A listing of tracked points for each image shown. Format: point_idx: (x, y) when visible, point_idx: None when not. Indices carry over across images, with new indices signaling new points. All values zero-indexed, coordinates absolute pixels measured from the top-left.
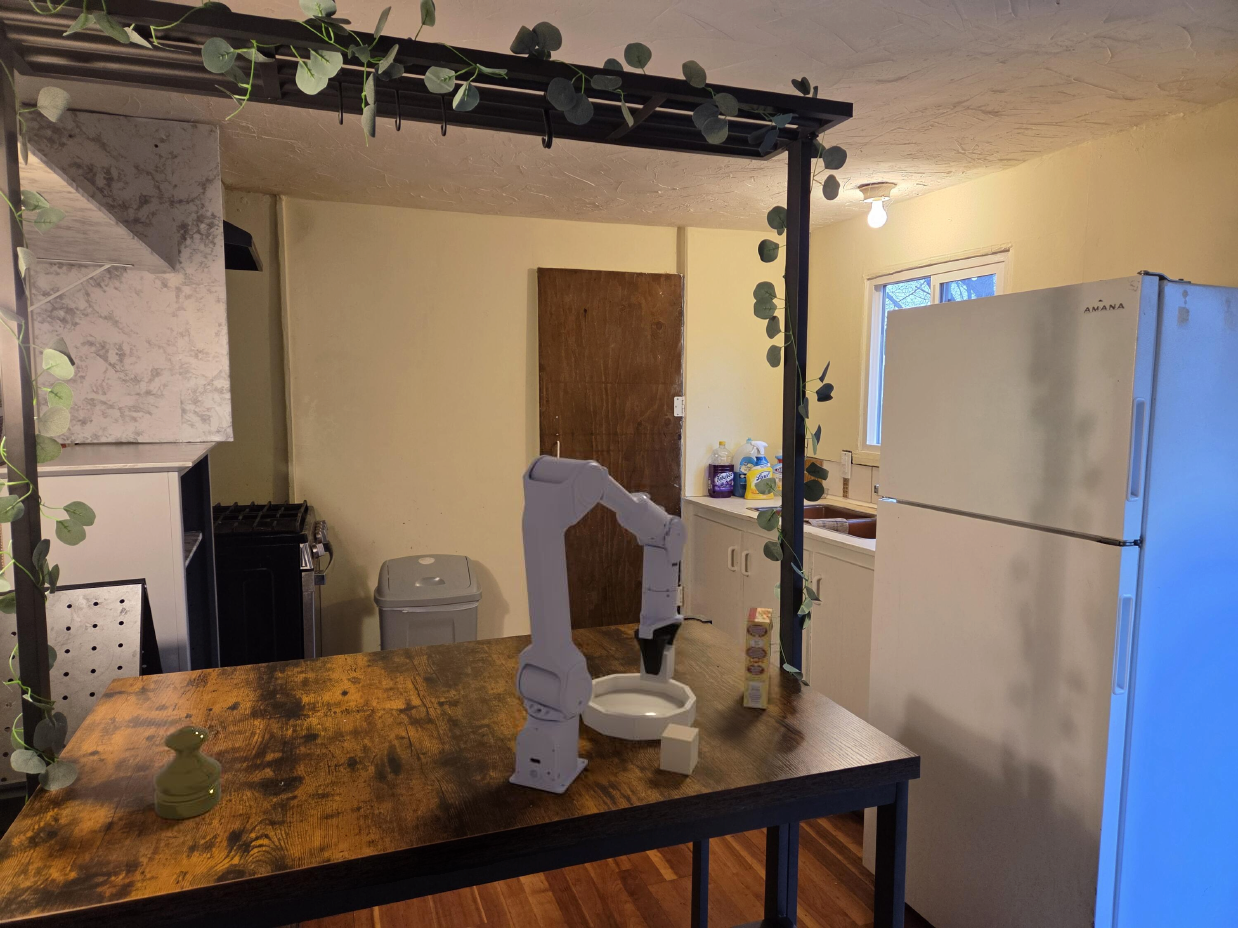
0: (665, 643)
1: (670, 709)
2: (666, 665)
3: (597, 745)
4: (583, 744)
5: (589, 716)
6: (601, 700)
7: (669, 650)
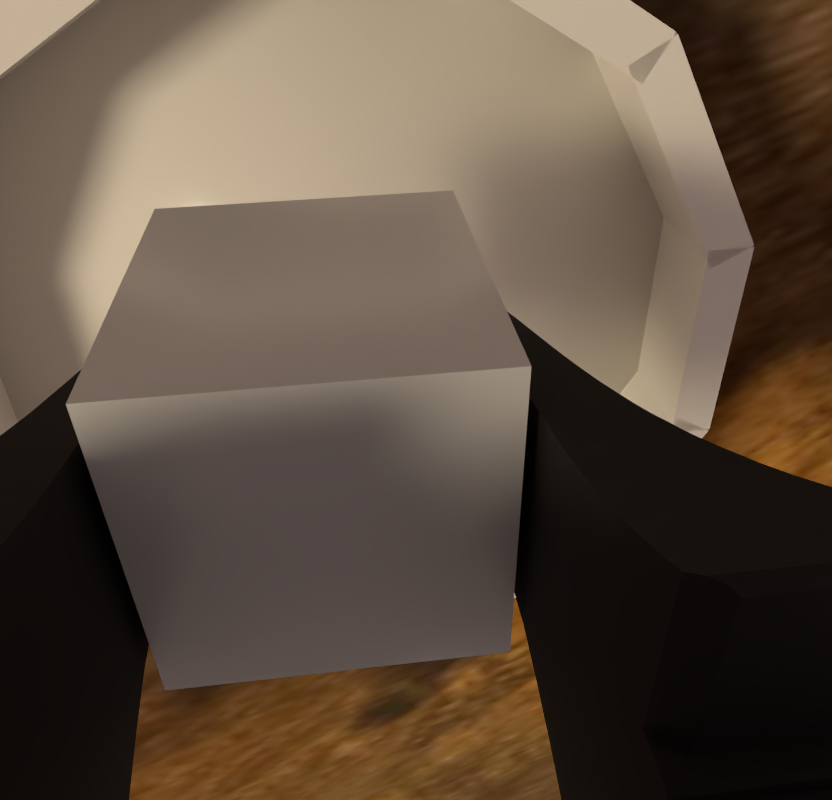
0: (753, 501)
1: (215, 118)
2: (489, 286)
3: (787, 332)
4: (787, 389)
5: None
6: None
7: (347, 394)
